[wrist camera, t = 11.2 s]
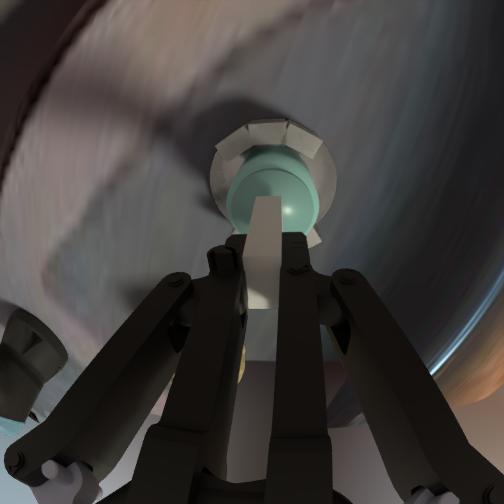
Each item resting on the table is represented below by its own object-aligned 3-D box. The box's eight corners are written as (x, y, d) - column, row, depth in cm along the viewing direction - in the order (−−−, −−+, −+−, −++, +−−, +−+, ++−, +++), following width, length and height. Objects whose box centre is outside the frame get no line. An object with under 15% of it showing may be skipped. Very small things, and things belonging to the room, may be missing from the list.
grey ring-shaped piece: (219, 237, 27) (211, 258, 24) (204, 124, 21) (191, 130, 18) (333, 234, 25) (339, 255, 22) (335, 117, 20) (344, 122, 17)
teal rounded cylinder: (241, 216, 25) (230, 252, 20) (234, 148, 21) (219, 167, 16) (311, 214, 24) (318, 251, 19) (310, 145, 21) (320, 163, 16)
